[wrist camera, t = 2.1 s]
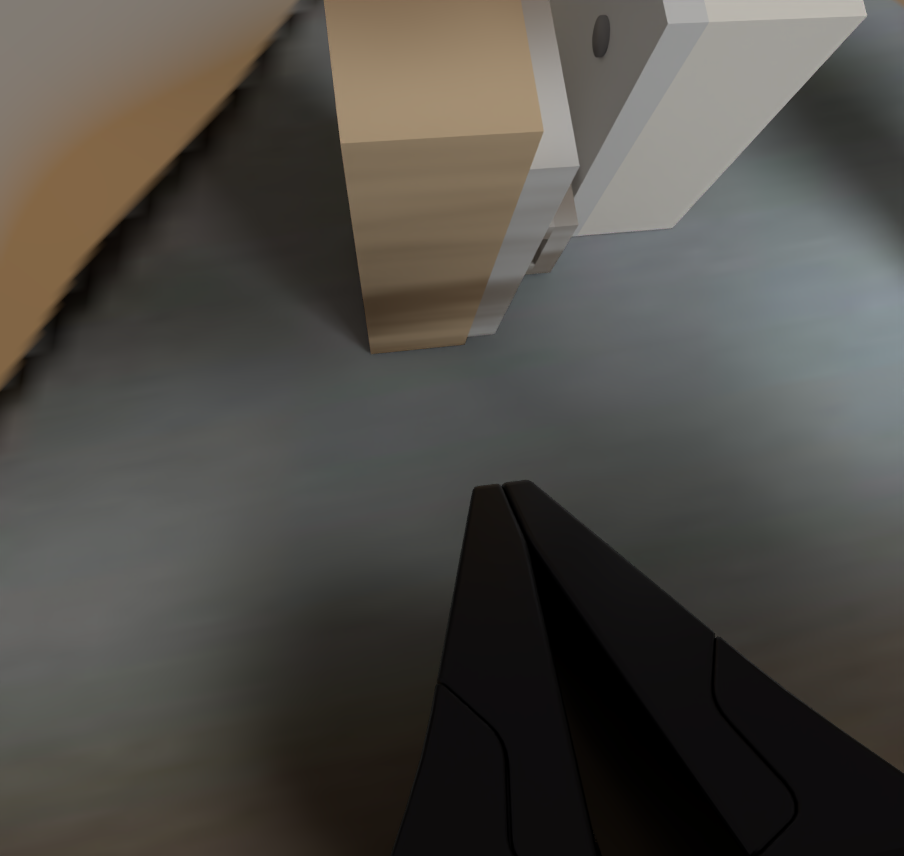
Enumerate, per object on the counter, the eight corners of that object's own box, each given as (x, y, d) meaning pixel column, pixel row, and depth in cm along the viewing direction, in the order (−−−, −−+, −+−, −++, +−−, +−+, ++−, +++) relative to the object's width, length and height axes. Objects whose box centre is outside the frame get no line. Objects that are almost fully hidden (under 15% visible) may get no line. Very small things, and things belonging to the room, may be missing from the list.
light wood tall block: (559, 334, 22) (742, 119, 11) (370, 354, 22) (340, 143, 10) (539, 213, 23) (688, -112, 11) (356, 228, 22) (311, -108, 11)
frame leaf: (674, 239, 24) (872, 34, 14) (454, 258, 23) (499, 50, 13) (633, 41, 25) (786, -272, 15) (424, 50, 24) (444, -280, 14)
